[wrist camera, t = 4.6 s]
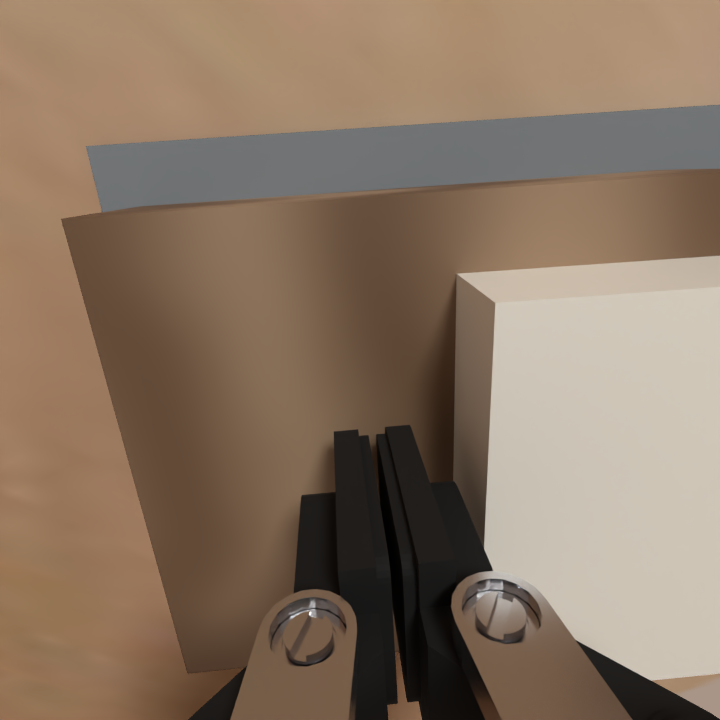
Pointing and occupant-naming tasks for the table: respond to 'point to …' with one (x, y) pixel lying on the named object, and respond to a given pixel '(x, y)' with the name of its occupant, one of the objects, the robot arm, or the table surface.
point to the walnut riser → (317, 349)
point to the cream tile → (599, 449)
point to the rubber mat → (404, 156)
